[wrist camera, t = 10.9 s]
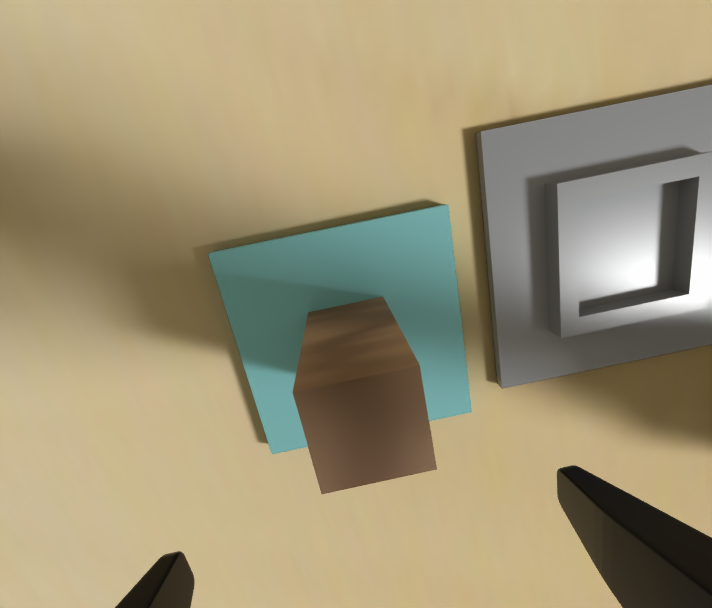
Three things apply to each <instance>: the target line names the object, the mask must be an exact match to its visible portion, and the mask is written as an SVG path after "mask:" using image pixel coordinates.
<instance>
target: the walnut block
mask: <svg viewBox="0 0 712 608" xmlns="http://www.w3.org/2000/svg"><path fill="white" fill-rule="evenodd" d="M292 393H293V396H294V400H295V403H296V407H297V410H298V414H299V417H300V420H301V424H302V427H303V431H304V434H305V438H306V441H307V445H308V448H309V452H310V455H311V459H312V462H313V466H314V469H315V473H316V476H317V479H318V483H319V486H320V490H321V493H322V494H325V493H330V492H334V491H339V490H344V489H348V488H353V487H357V486H362V485H367V484H371V483H376V482H380V481H385V480H390V479H394V478H399V477H403V476H408V475H413V474H417V473H422V472H426V471H431V470H436V469H437V467H436V461H435V455H434V449H433V443H432V437H431V431H430V424H429V418H428V412H427V406H426V400H425V394H424V388H423V381H422V375H421V369H420V364H419V363H418V361H417V359H416V357H415V355H414V353H413V351H412V350H411V348H410V346H409V344H408V342H407V340H406V338H405V336H404V335H403V333H402V331H401V329H400V327H399V325H398V323H397V321H396V320H395V318H394V316H393V314H392V312H391V310H390V308H389V307H388V305H387V303H386V301H385V299H384V297H378V298H373V299H369V300H364V301H359V302H355V303H350V304H345V305H341V306H336V307H331V308H326V309H322V310H317V311H312V312H308V315H307V320H306V326H305V331H304V336H303V341H302V346H301V351H300V356H299V361H298V367H297V372H296V377H295V382H294V387H293V392H292Z"/></svg>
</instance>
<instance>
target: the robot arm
mask: <svg viewBox="0 0 712 608" xmlns="http://www.w3.org/2000/svg"><path fill="white" fill-rule="evenodd" d="M557 494H558V499H559V502H560V505H561V507H562V508H563V510H564V512H565V514H566V515H567V517H568V519H569V521H570V522H571V524H572V526H573V528H574V529H575V531H576V533H577V535H578V536H579V538H580V540H581V542H582V543H583V545H584V547H585V549H586V550H587V552H588V554H589V556H590V557H591V559H592V561H593V563H594V564H595V566H596V568H597V569H598V571H599V573H600V574H601V576H602V578H603V579H604V581H605V582H606V584H607V585H608V587H609V588H610V590H611V591H612V593H613V594H614V595H615V597H616V598H617V600H618V601H619V603H620V604H621V606H622V607H623V608H712V538H711V537H709V536H707V535H705V534H704V533H702V532H700V531H698V530H696V529H694V528H692V527H690V526H689V525H687V524H685V523H683V522H681V521H679V520H677V519H675V518H674V517H672V516H670V515H668V514H666V513H664V512H662V511H660V510H659V509H657V508H655V507H653V506H651V505H649V504H647V503H645V502H644V501H642V500H640V499H638V498H636V497H634V496H632V495H630V494H629V493H627V492H625V491H623V490H621V489H619V488H617V487H615V486H614V485H612V484H610V483H608V482H606V481H604V480H602V479H601V478H599V477H597V476H595V475H593V474H591V473H589V472H587V471H586V470H584V469H582V468H580V467H578V466H568V467H563V468H560V469H558V471H557ZM193 590H194V575H193V573H192V571H191V568H190V566H189V564H188V562H187V560H186V557H185V555H184V554H183V553H182V552H181V551H178V552H173V553H169V554H165V555H163V556H162V557H161V558H160V559H159V560H158V561H157V562H156V563H155V564H154V565H153V566H152V567H151V568H150V570H149V571H148V572H147V573H146V574H145V575H144V576H143V577H142V578H141V579H140V581H139V582H138V583H137V584H136V585H135V586H134V587H133V588H132V589H131V591H130V592H129V593H128V594H127V595H126V596H125V597H124V598H123V599H122V601H121V602H120V603H119V604H118V605H117V606H116V607H115V608H190V607H191V601H192V596H193Z"/></svg>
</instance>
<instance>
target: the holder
mask: <svg viewBox="0 0 712 608" xmlns="http://www.w3.org/2000/svg"><path fill="white" fill-rule="evenodd" d="M476 140H477V152H478V163H479V175H480V186H481V198H482V210H483V221H484V233H485V245H486V256H487V268H488V279H489V291H490V303H491V314H492V326H493V337H494V349H495V361H496V372H497V384H498V385H499V386H500V387H501V388H502V389H503V388H507V387H512V386H517V385H522V384H526V383H531V382H536V381H541V380H545V379H550V378H555V377H560V376H564V375H569V374H574V373H579V372H584V371H588V370H593V369H598V368H603V367H607V366H612V365H617V364H622V363H626V362H631V361H636V360H641V359H645V358H650V357H655V356H660V355H664V354H669V353H674V352H679V351H683V350H688V349H693V348H698V347H702V346H707V345H712V85H707V86H702V87H697V88H693V89H688V90H683V91H678V92H673V93H668V94H663V95H658V96H653V97H648V98H643V99H638V100H633V101H628V102H623V103H619V104H614V105H609V106H604V107H599V108H594V109H589V110H584V111H579V112H574V113H569V114H564V115H559V116H554V117H550V118H545V119H540V120H535V121H530V122H525V123H520V124H515V125H510V126H505V127H500V128H495V129H490V130H485V131H481V132H478V133H476Z"/></svg>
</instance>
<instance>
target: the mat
mask: <svg viewBox="0 0 712 608" xmlns="http://www.w3.org/2000/svg"><path fill="white" fill-rule="evenodd" d="M208 256H209V259H210V262H211V265H212V268H213V272H214V275H215V278H216V281H217V284H218V287H219V290H220V293H221V297H222V300H223V303H224V306H225V309H226V312H227V315H228V318H229V322H230V325H231V328H232V331H233V334H234V337H235V340H236V344H237V347H238V350H239V353H240V356H241V359H242V362H243V365H244V369H245V372H246V375H247V378H248V381H249V384H250V387H251V390H252V394H253V397H254V400H255V403H256V406H257V409H258V412H259V416H260V419H261V422H262V425H263V428H264V431H265V434H266V437H267V441H268V444H269V447H270V450H271V453H272V454H275V453H280V452H285V451H289V450H294V449H299V448H304V447H308V445H307V441H306V438H305V434H304V431H303V427H302V424H301V420H300V417H299V414H298V410H297V407H296V403H295V400H294V396H293V393H292V392H293V387H294V382H295V377H296V372H297V367H298V361H299V356H300V351H301V346H302V341H303V336H304V331H305V326H306V320H307V315H308V312H312V311H317V310H322V309H326V308H331V307H336V306H341V305H345V304H350V303H355V302H359V301H364V300H369V299H373V298H378V297H384V299H385V301H386V303H387V305H388V307H389V308H390V310H391V312H392V314H393V316H394V318H395V320H396V321H397V323H398V325H399V327H400V329H401V331H402V333H403V335H404V336H405V338H406V340H407V342H408V344H409V346H410V348H411V350H412V351H413V353H414V355H415V357H416V359H417V361H418V363H419V364H420V369H421V375H422V381H423V388H424V394H425V400H426V406H427V412H428V418H429V421H432V420H436V419H441V418H446V417H451V416H455V415H460V414H465V413H470V412H472V410H471V401H470V392H469V384H468V375H467V366H466V357H465V348H464V339H463V331H462V322H461V313H460V304H459V295H458V287H457V278H456V269H455V260H454V251H453V242H452V234H451V225H450V216H449V207H448V205H445V204H443V205H438V206H433V207H428V208H423V209H418V210H413V211H409V212H404V213H399V214H394V215H389V216H384V217H379V218H374V219H369V220H365V221H360V222H355V223H350V224H345V225H340V226H335V227H330V228H325V229H321V230H316V231H311V232H306V233H301V234H296V235H291V236H286V237H281V238H277V239H272V240H267V241H262V242H257V243H252V244H247V245H242V246H238V247H233V248H228V249H223V250H218V251H213V252H211V253H209V254H208Z"/></svg>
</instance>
